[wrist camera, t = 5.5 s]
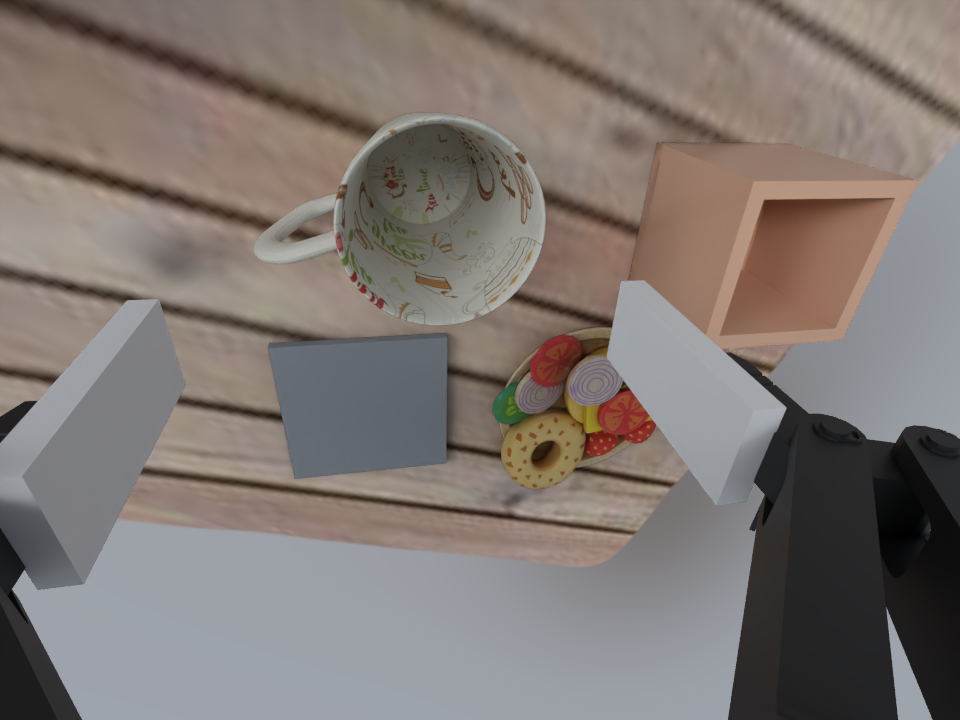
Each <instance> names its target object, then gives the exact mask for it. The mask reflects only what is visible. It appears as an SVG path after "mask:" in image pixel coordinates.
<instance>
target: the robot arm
mask: <svg viewBox="0 0 960 720" xmlns="http://www.w3.org/2000/svg"><path fill="white" fill-rule="evenodd" d="M607 359H608V360H609V361H610V363H611V364H612V365H613V367H614V368H615V369H616V371H617V372H618V373H619V375H620V376H621V377H622V379H623V380H624V382H625V383H626V384H627V386H628V387H629V388H630V390H631V391H632V392H633V394H634V395H635V396H636V398H637V399H638V401H639V402H640V403H641V405H642V406H643V407H644V409H645V410H646V411H647V413H648V414H649V415H650V417H651V418H652V420H653V421H654V422H655V424H656V425H657V426H658V428H659V429H660V430H661V432H662V433H663V434H664V436H665V437H666V439H667V440H668V441H669V443H670V444H671V445H672V447H673V448H674V449H675V451H676V452H677V453H678V455H679V456H680V457H681V459H682V460H683V462H684V463H685V464H686V466H687V467H688V468H689V470H690V471H691V472H692V474H693V475H694V476H695V478H696V479H697V480H698V482H699V483H700V485H701V486H702V487H703V489H704V490H705V491H706V493H707V494H708V495H709V496H710V498H711V500H712V501H713V502H714V504H715V505H716V506H720V505H728V504H735V503H744V502H746V501H747V498H748V496H749V494H750V492H751V489H752V487H753V485H754V483H755V484H756V485H757V486H758V487H759V488H760V490H761V491H762V492H763V493H764V494H765V496H764V498H763V500H762V503H761V505H760V507H759V509H758V511H757V513H756V516H755V518H754V520H753V522H752V524H751V527H750V530H752V531H755V529H756V535H755V542H754V548H753V555H752V562H751V568H750V576H749V582H748V589H747V596H746V602H745V609H744V616H743V622H742V629H741V636H740V642H739V649H738V656H737V663H736V669H735V676H734V683H733V689H732V696H731V703H730V709H729V717H728V720H898V715H897V706H896V697H895V687H894V677H893V668H892V659H891V649H890V641H889V631H888V621H887V611H886V607H887V609H888V612H889V614H890V617H891V619H892V622H893V624H894V626H895V629H896V631H897V634H898V636H899V639H900V641H901V644H902V646H903V648H904V651H905V653H906V656H907V658H908V661H909V663H910V666H911V668H912V670H913V673H914V675H915V678H916V680H917V683H918V685H919V687H920V690H921V692H922V695H923V697H924V699H925V702H926V705H927V707H928V709H929V712H930V714H931V717H932V719H933V720H960V439H959V438H957V437H956V436H955V435H953V434H951V433H946V431H943V430H940V429H934V428H930V427H927V426H915V425H914V426H910V427H906V428H905V429H904V430H903V432H902V433H901V435H900V436H899V438H898V440H897V442H896V443H891V442H884V441H875V440H868V439H866V436H865V435H864V434H863V433H861V431H859V430H858V429H857V428H856V427H854V426H853V425H851V424H849V423H847V422H846V421H843V420H841V419H838V418H836V417H833V416H828V415H824V414H808V413H807V412H806V411H805V410H804V409H802V407H800V406H799V405H798V404H797V403H796V402H794V401H793V400H792V399H791V398H790V397H789V396H788V395H786V394H785V393H784V392H783V391H782V390H781V389H779V388H778V387H777V386H776V385H773V382H771V381H770V380H769V379H768V378H767V377H766V376H762V373H761V372H760V371H759V370H758V369H756V368H755V367H754V366H753V365H752V364H751V363H749V362H748V361H746V360H744V359H742V358H740V357H738V356H736V355H734V354H732V353H725V352H724V351H723V350H722V349H721V348H719V347H718V346H717V345H716V344H715V343H714V342H713V341H712V340H710V339H709V338H708V337H707V336H706V335H705V334H704V333H703V332H702V331H700V330H699V329H698V328H697V327H696V326H695V325H694V324H693V323H691V322H690V321H689V320H688V319H687V318H686V317H685V316H684V315H683V314H681V313H680V312H679V311H678V310H677V309H676V308H675V307H674V306H672V305H671V304H670V303H669V302H668V301H667V300H666V299H665V298H664V297H662V296H661V295H660V294H659V293H658V292H657V291H656V290H655V289H653V288H652V287H651V286H650V285H649V284H648V283H647V282H646V281H645V280H637V281H621V285H620V290H619V295H618V300H617V306H616V311H615V316H614V321H613V326H612V331H611V336H610V341H609V347H608V352H607ZM185 385H186V384H185V381H184V378H183V375H182V372H181V368H180V365H179V362H178V359H177V356H176V352H175V349H174V346H173V343H172V340H171V336H170V333H169V330H168V327H167V324H166V320H165V317H164V314H163V311H162V308H161V304H160V301H159V299H152V300H127V301H126V302H125V303H124V305H123V306H122V307H121V308H120V309H119V310H118V311H117V312H116V314H115V315H114V316H113V317H112V318H111V319H110V320H109V321H108V323H107V324H106V325H105V326H104V327H103V328H102V329H101V330H100V332H99V333H98V334H97V335H96V336H95V337H94V338H93V339H92V341H91V342H90V343H89V344H88V345H87V346H86V347H85V348H84V350H83V351H82V352H81V353H80V354H79V355H78V356H77V358H76V359H75V360H74V361H73V362H72V363H71V364H70V365H69V367H68V368H67V369H66V370H65V371H64V372H63V373H62V374H61V376H60V377H59V378H58V379H57V380H56V381H55V382H54V383H53V385H52V386H51V387H50V388H49V389H48V390H47V391H46V392H45V394H44V395H43V396H42V397H41V398H40V399H39V400H38V401H26V402H23V403H22V404H20V405H18V406H17V407H15V408H14V409H12V410H10V411H9V412H7V413H6V414H4V415H2V416H1V417H0V720H82V719H81V717H80V715H79V713H78V712H77V709H76V707H75V706H74V704H73V702H72V700H71V698H70V696H69V694H68V692H67V690H66V689H65V687H64V685H63V683H62V681H61V679H60V677H59V675H58V673H57V671H56V669H55V667H54V665H53V664H52V662H51V660H50V658H49V656H48V654H47V652H46V650H45V648H44V646H43V644H42V643H41V641H40V639H39V637H38V635H37V633H36V631H35V629H34V627H33V625H32V623H31V621H30V620H29V618H28V616H27V614H26V612H25V610H24V608H23V606H22V604H21V602H20V600H19V599H18V597H17V596H16V595H15V593H14V592H13V590H12V588H13V586H14V585H15V583H16V582H17V580H18V579H19V577H20V576H21V574H22V572H23V571H24V570H25V571H26V573H27V574H28V576H29V577H30V579H31V580H32V582H33V583H34V585H35V586H36V588H37V589H38V590H40V589H48V588H56V587H64V586H72V585H81V584H84V583H85V580H86V579H87V577H88V575H89V573H90V571H91V569H92V567H93V565H94V563H95V561H96V559H97V557H98V555H99V553H100V551H101V549H102V548H103V546H104V544H105V541H106V540H107V538H108V536H109V533H110V532H111V530H112V528H113V526H114V524H115V522H116V520H117V518H118V516H119V514H120V512H121V510H122V508H123V506H124V504H125V503H126V501H127V499H128V497H129V495H130V493H131V491H132V489H133V487H134V485H135V483H136V481H137V479H138V477H139V475H140V473H141V471H142V469H143V467H144V465H145V463H146V461H147V459H148V457H149V456H150V454H151V452H152V450H153V448H154V446H155V444H156V442H157V440H158V438H159V436H160V434H161V432H162V430H163V428H164V426H165V424H166V422H167V420H168V418H169V416H170V414H171V412H172V410H173V409H174V407H175V405H176V403H177V401H178V399H179V397H180V395H181V393H182V391H183V389H184V387H185ZM930 530H931V531H930Z"/></svg>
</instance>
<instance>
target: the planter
mask: <svg viewBox="0 0 960 720" xmlns="http://www.w3.org/2000/svg"><path fill="white" fill-rule="evenodd" d="M917 181H918V180H915V179H912V178H908V177H904V176H901V175H897V174H894V173H890V172H887V171H883V170H879V169H876V168H872V167H869V166H865V165H862V164H858V163H854V162H851V161H847V160H844V159H840V158H837V157H833V156H829V155H826V154H822V153H819V152H815V151H812V150H808V149H805V148H801V147H797V146H794V145H790V144H761V143H657V146H656V151H655V155H654V160H653V165H652V170H651V175H650V179H649V184H648V189H647V194H646V199H645V204H644V208H643V213H642V218H641V223H640V228H639V232H638V237H637V242H636V247H635V252H634V257H633V261H632V266H631V271H630V276H629V281H637V280H645V281H646V282H647V283H648V284H649V285H650V286H651V287H652V288H653V289H655V290H656V291H657V292H658V293H659V294H660V295H661V296H662V297H664V298H665V299H666V300H667V301H668V302H669V303H670V304H671V305H672V306H674V307H675V308H676V309H677V310H678V311H679V312H680V313H681V314H683V315H684V316H685V317H686V318H687V319H688V320H689V321H690V322H691V323H693V324H694V325H695V326H696V327H697V328H698V329H699V330H700V331H702V332H703V333H704V334H705V335H706V336H707V337H708V338H709V339H710V340H712V341H713V342H714V343H715V344H716V345H717V346H718V347H719V348H721V349H726V348H740V347H754V346H769V345H783V344H797V343H811V342H826V341H840V340H843V337H844V335H845V333H846V331H847V329H848V327H849V325H850V323H851V321H852V319H853V316H854V314H855V312H856V310H857V308H858V306H859V304H860V302H861V299H862V297H863V295H864V293H865V291H866V289H867V287H868V285H869V283H870V281H871V278H872V276H873V274H874V272H875V270H876V268H877V266H878V264H879V262H880V259H881V257H882V255H883V253H884V251H885V249H886V247H887V245H888V242H889V240H890V238H891V236H892V234H893V232H894V230H895V228H896V226H897V224H898V222H899V219H900V217H901V215H902V213H903V211H904V209H905V207H906V205H907V203H908V200H909V198H910V196H911V194H912V192H913V190H914V188H915V186H916V184H917ZM755 226H756V231H755V234H754V236H753V238H752V235H753V232H754V229H755ZM751 238H752V240H751Z"/></svg>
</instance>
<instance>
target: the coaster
mask: <svg viewBox="0 0 960 720" xmlns="http://www.w3.org/2000/svg"><path fill="white" fill-rule="evenodd" d="M268 351H269V356H270V361H271V366H272V371H273V375H274V380H275V385H276V390H277V395H278V400H279V405H280V410H281V414H282V419H283V424H284V429H285V434H286V439H287V444H288V448H289V453H290V458H291V463H292V468H293V473H294V478H295V479H299V478H308V477H318V476H328V475H338V474H347V473H357V472H367V471H376V470H386V469H396V468H406V467H415V466H425V465H435V464H444V463H446V440H447V334H446V333H437V334H419V335H402V336H385V337H367V338H350V339H333V340H315V341H298V342H281V343H269V346H268Z"/></svg>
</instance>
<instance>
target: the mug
mask: <svg viewBox="0 0 960 720" xmlns="http://www.w3.org/2000/svg"><path fill="white" fill-rule="evenodd" d="M332 210H334V230H333V231H330V232H327V233H324V234H321V235H318V236H315V237H312V238H309V239H306V240H303V241H299V242H294V243H284V242H282V241H283V240H284V239H285V238H286V237H287V236H289V235H290V234H291V233H292V232H293V231H295V230H296V229H297V228H299V227H300V226H301V225H303V224H304V223H306V222H308V221H309V220H311V219H314V218H316V217H319V216H321V215H323V214H325V213H327V212H330V211H332ZM545 227H546V210H545V202H544V197H543V193H542V189H541V186H540V183H539V180H538V178H537V175H536V173H535V171H534V169H533V168H532V166H531V164H530V163H529V161H528V160H527V158H526V157H525V155H524V154H523V153H522V152H521V151H520V149H519V148H518V147H517V146H516V145H515V144H514V143H513V142H512V141H511V140H509V139H508V138H507V137H506V136H504V135H503V134H502V133H500V132H499V131H497V130H496V129H494V128H492V127H490V126H489V125H487V124H484V123H482V122H480V121H477V120H475V119H472V118H468V117H465V116H461V115H455V114H446V113H409V114H405V115H401V116H399V117H396V118H394V119H392V120H391V121H389V122H388V123H386V124H385V125H384V126H382V127H381V128H380V129H379V130H378V131H377V132H376V133H375V134H374V135H373V136H372V138H371V139H370V140H369V141H368V142H367V143H366V144H365V145H364V146H363V147H362V148H361V149H360V150H359V152H358V153H357V154H356V156H355V157H354V158H353V160H352V161H351V163H350V165H349V166H348V168H347V170H346V172H345V174H344V176H343V178H342V181H341V183H340V186H339V189H338V193H336V194H332V195H328V196H325V197H321V198H318V199H314V200H311V201H309V202H306V203H304V204H303V205H301V206H299V207H297V208H296V209H294V210H293V211H292V212H290V213H289V214H287V215H286V216H284V217H283V218H282V219H280V220H279V221H278V222H276V223H275V224H274V225H272V226H271V227H270V228H268V229H267V230H266V231H265V232H264V233H262V234H261V235H260V237H259V238H258V239H257V241H256V243H255V245H254V253H255V255H256V256H257V257H258V258H259V259H260V260H262V261H264V262H268V263H273V264H289V263H295V262H299V261H303V260H306V259H309V258H313V257H316V256H319V255H322V254H325V253H328V252H331V251H334V250H338V254H339V256H340V259H341V262H342V264H343V266H344V268H345V270H346V272H347V274H348V275H349V277H350V279H351V280H352V282H353V283H354V284H355V286H356V287H357V288H358V290H359V291H360V292H361V293H362V294H363V295H364V296H365V297H366V298H367V299H368V300H370V301H371V302H372V303H373V304H374V305H376V306H377V307H379V308H380V309H382V310H383V311H385V312H387V313H388V314H391V315H393V316H395V317H397V318H400V319H402V320H405V321H409V322H412V323H417V324H423V325H436V326H440V325H452V324H459V323H463V322H467V321H470V320H473V319H476V318H479V317H481V316H483V315H485V314H487V313H489V312H491V311H493V310H494V309H496V308H497V307H499V306H500V305H502V304H503V303H504V302H506V301H507V300H508V299H509V298H511V297H512V296H513V295H514V294H515V293H516V292H517V291H518V289H519V288H520V287H521V286H522V285H523V284H524V282H525V281H526V279H527V278H528V277H529V275H530V273H531V272H532V270H533V268H534V266H535V264H536V262H537V260H538V257H539V254H540V252H541V249H542V245H543V241H544V235H545Z"/></svg>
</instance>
